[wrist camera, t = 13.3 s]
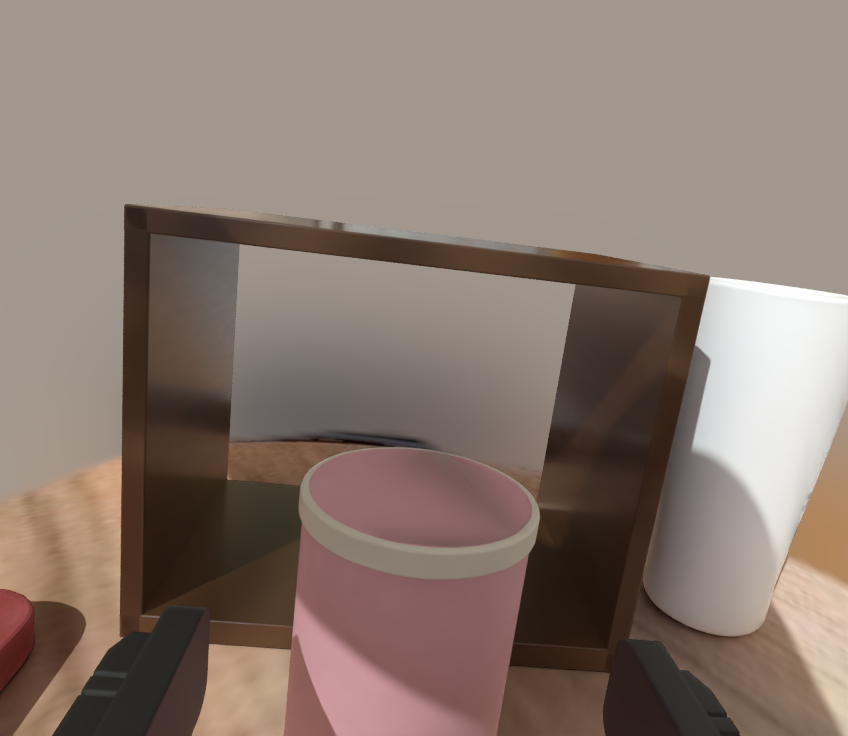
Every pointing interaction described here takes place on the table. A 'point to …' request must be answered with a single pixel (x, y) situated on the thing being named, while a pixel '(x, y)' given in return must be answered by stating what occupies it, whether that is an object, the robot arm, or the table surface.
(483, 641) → the pink canister
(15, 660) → the popsicle
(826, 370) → the drinking glass
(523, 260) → the cubby cabinet
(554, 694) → the table surface
